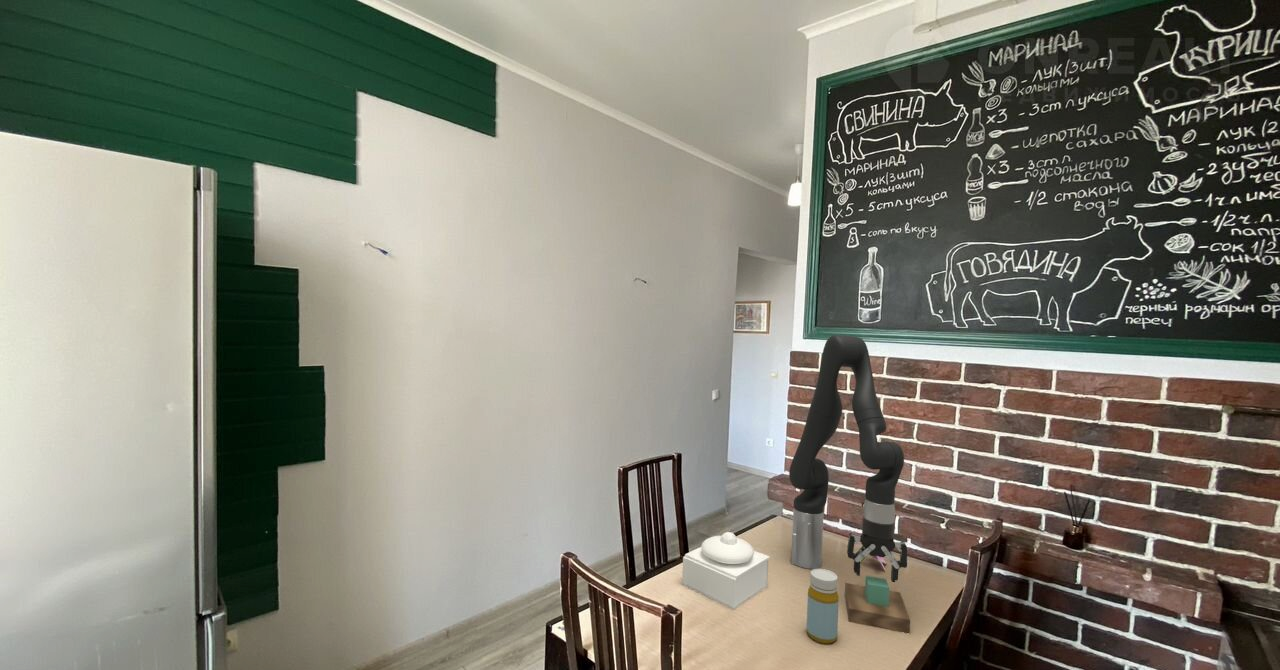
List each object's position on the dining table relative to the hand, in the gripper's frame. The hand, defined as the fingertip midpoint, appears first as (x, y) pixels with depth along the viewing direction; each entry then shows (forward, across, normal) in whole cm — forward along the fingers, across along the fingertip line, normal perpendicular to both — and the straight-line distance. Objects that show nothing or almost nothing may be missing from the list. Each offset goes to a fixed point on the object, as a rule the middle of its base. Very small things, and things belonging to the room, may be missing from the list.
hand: (875, 577), depth 133 cm
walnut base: (+10, 0, 0) cm, 10 cm away
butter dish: (+10, -39, -1) cm, 40 cm away
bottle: (+10, -14, -16) cm, 23 cm away
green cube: (+6, 0, 0) cm, 6 cm away
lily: (+10, +4, +30) cm, 32 cm away
